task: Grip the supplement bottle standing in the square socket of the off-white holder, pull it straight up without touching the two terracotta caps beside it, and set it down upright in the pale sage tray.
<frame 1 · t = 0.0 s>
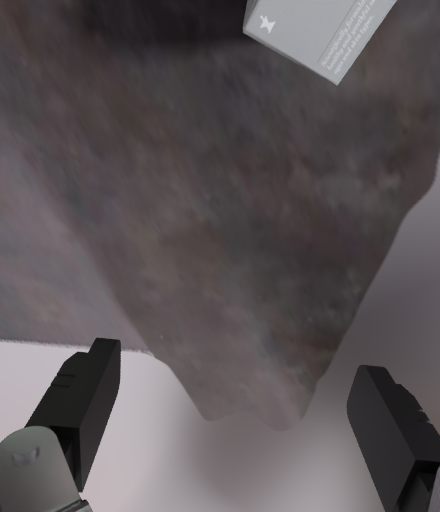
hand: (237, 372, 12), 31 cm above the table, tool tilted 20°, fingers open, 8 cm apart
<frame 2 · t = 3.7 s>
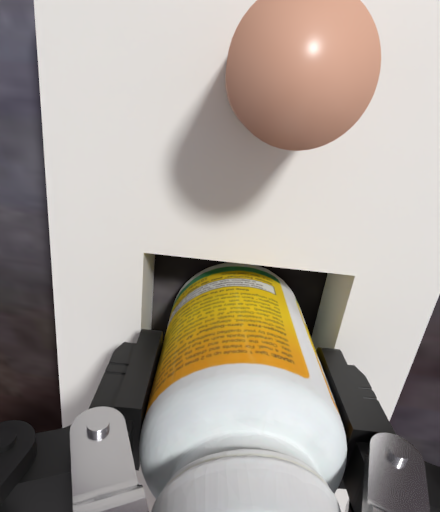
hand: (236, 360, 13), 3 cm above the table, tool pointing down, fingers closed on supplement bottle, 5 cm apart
socket holder: (234, 314, 16), on the table
supplement bottle: (234, 312, 16), resting in socket holder, touching gripper
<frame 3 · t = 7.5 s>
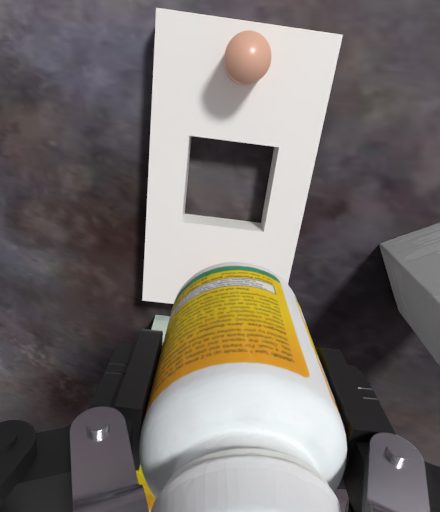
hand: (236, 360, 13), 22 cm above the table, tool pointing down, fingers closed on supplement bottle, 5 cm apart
socket holder: (227, 180, 32), on the table
supplement bottle 2: (142, 454, 46), on the table
supplement bottle: (234, 311, 16), point 18 cm above the table, touching gripper
skincare box: (414, 265, 36), on the table
when the fingers open (6 cm above the table, at t = 11.4 s): supplement bottle drops 2 cm, resting on tray.
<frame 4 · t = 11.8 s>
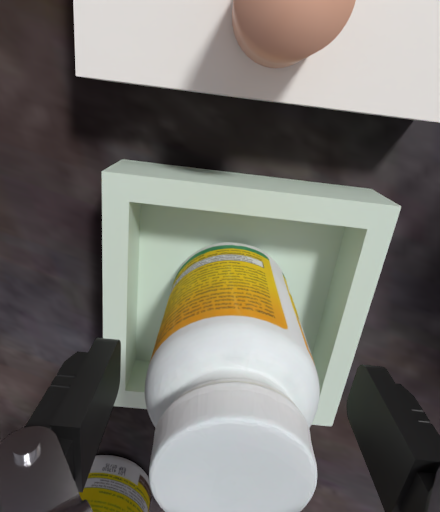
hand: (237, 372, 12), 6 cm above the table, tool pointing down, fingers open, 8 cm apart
tray: (232, 285, 18), on the table
supplement bottle 2: (111, 477, 24), on the table
supplement bottle: (229, 288, 18), point 1 cm above the table, touching tray
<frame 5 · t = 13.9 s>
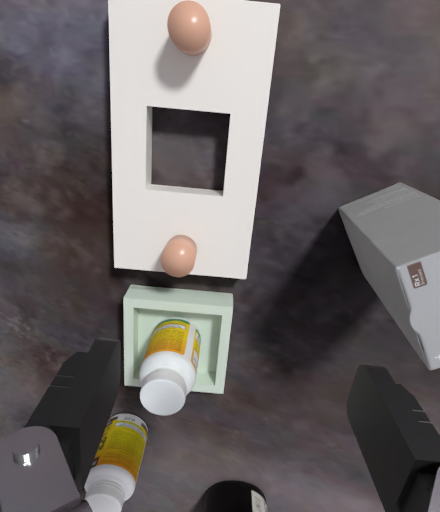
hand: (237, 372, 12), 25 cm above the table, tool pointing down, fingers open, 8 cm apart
tray: (179, 332, 42), on the table
socket holder: (189, 150, 34), on the table
supplement bottle 2: (127, 426, 47), on the table
supplement bottle: (177, 334, 41), point 1 cm above the table, touching tray
ink bottle: (234, 498, 52), on the table
skincare box: (375, 228, 37), on the table
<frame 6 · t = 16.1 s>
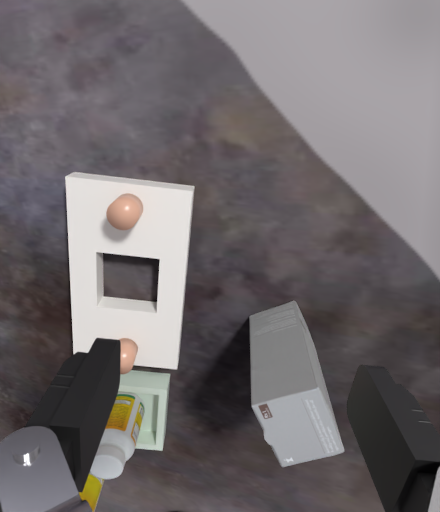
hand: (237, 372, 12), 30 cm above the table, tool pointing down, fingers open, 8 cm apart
tray: (128, 400, 52), on the table
socket holder: (132, 274, 44), on the table
supplement bottle 2: (89, 469, 58), on the table
supplement bottle: (126, 403, 51), point 1 cm above the table, touching tray
skincare box: (278, 330, 48), on the table
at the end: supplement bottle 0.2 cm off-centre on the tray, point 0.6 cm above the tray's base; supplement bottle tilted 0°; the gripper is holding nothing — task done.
